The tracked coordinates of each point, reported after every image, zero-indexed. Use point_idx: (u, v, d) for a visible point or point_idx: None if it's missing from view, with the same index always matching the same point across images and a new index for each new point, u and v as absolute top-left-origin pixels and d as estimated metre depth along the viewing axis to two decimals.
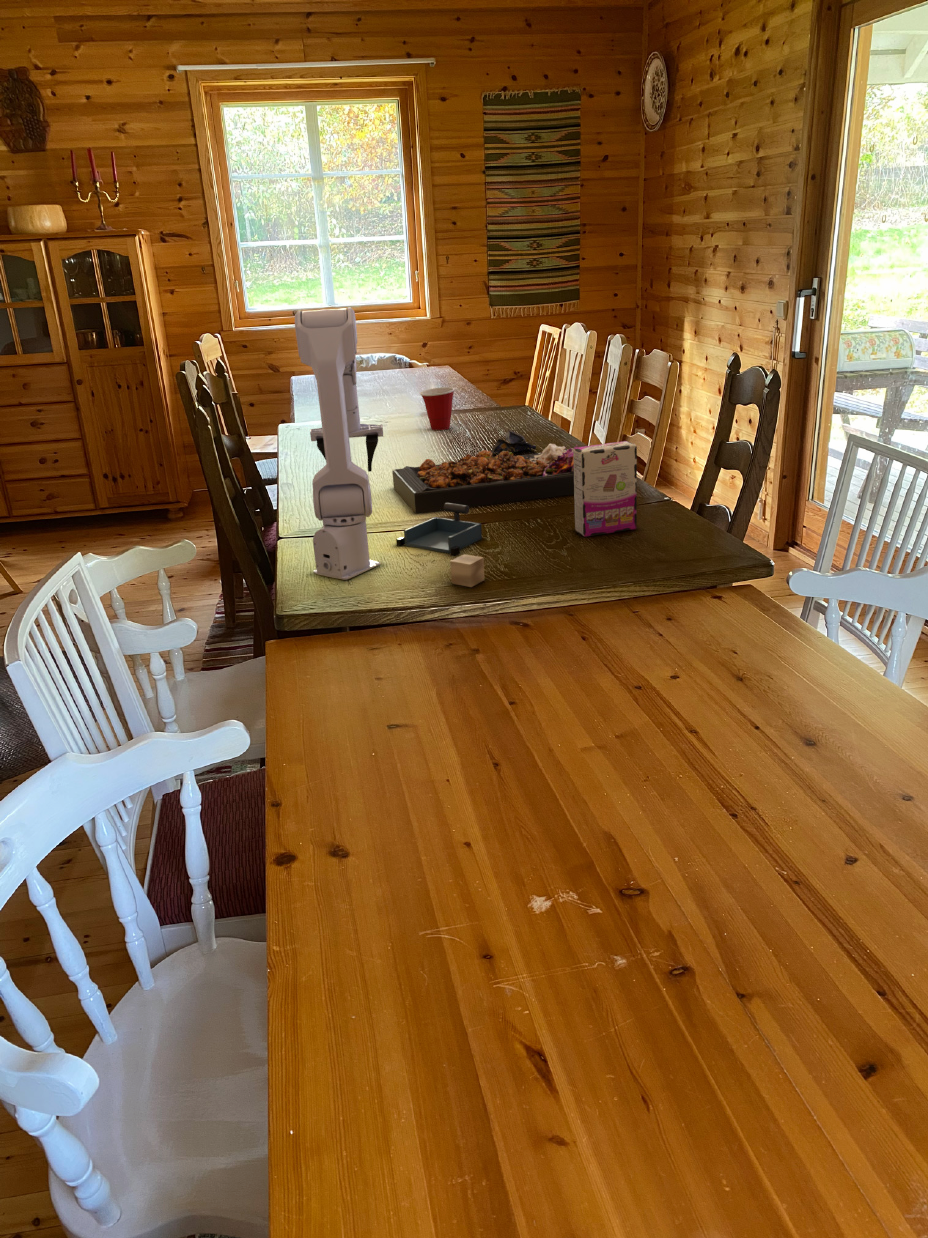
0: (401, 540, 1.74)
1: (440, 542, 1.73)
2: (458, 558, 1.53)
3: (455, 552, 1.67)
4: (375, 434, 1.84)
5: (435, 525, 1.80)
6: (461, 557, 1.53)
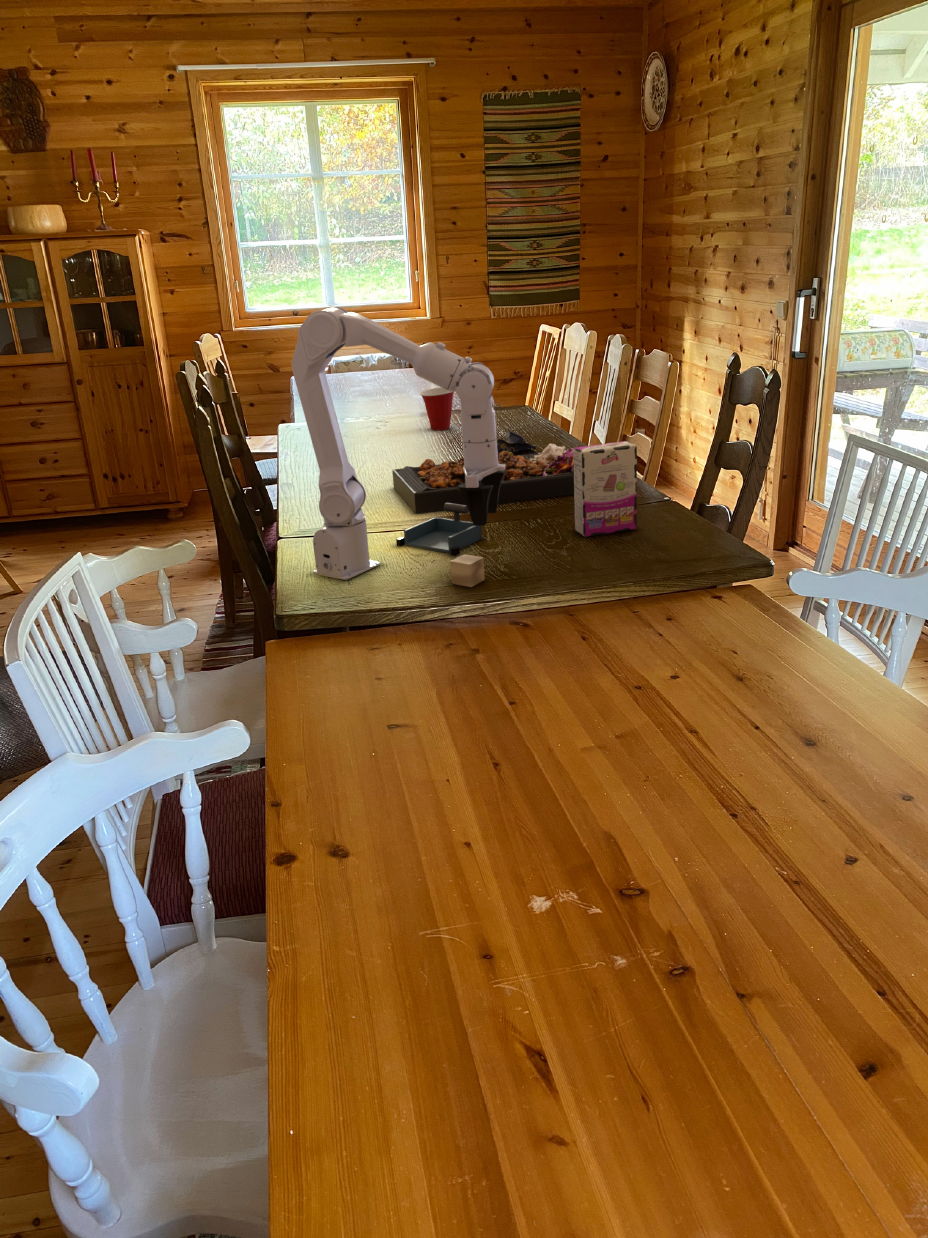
0: (401, 540, 1.74)
1: (440, 542, 1.73)
2: (458, 558, 1.53)
3: (455, 552, 1.67)
4: None
5: (435, 525, 1.80)
6: (461, 557, 1.53)
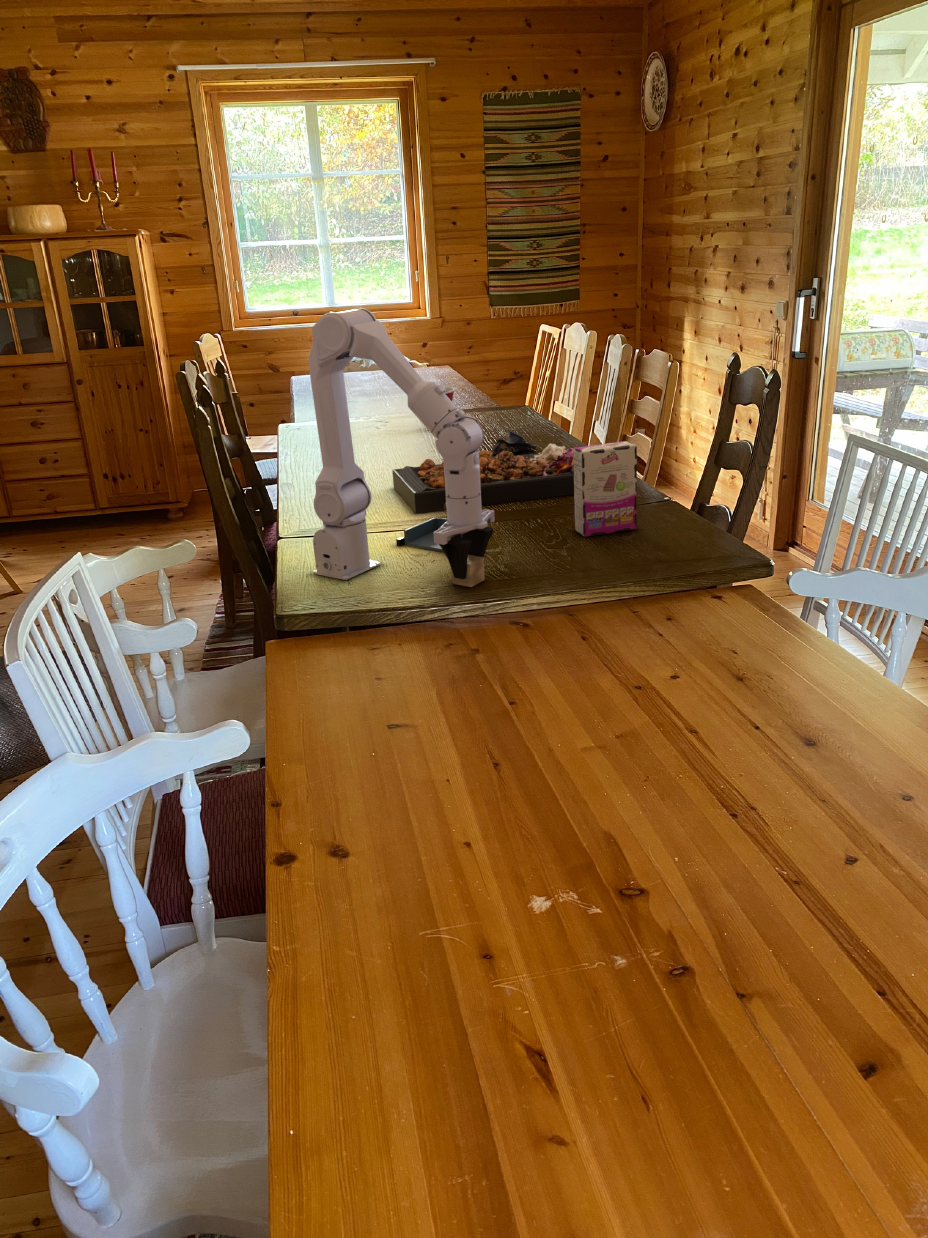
0: (401, 540, 1.74)
1: None
2: None
3: None
4: None
5: (435, 525, 1.80)
6: None
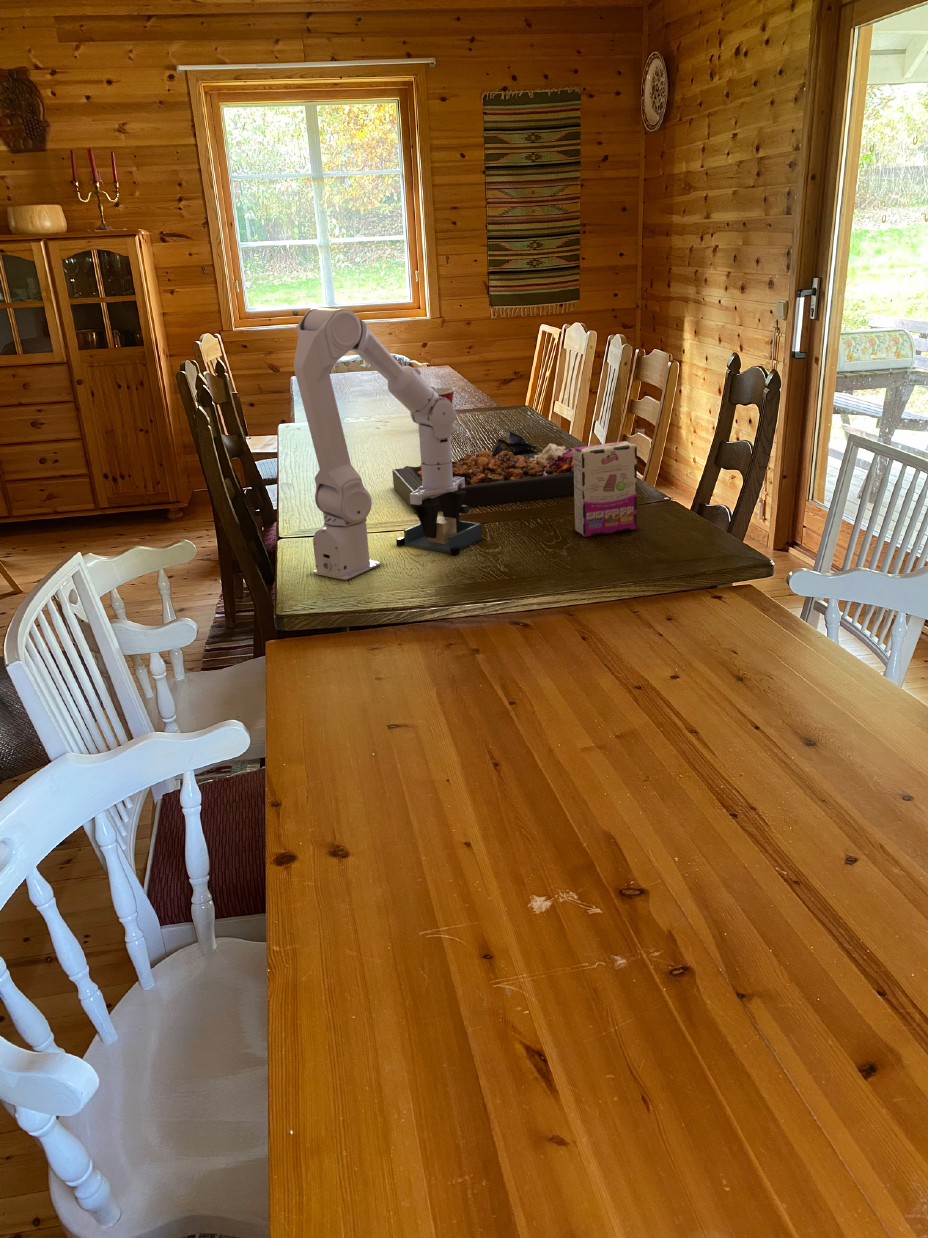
0: (401, 540, 1.74)
1: None
2: None
3: (455, 552, 1.67)
4: None
5: None
6: None
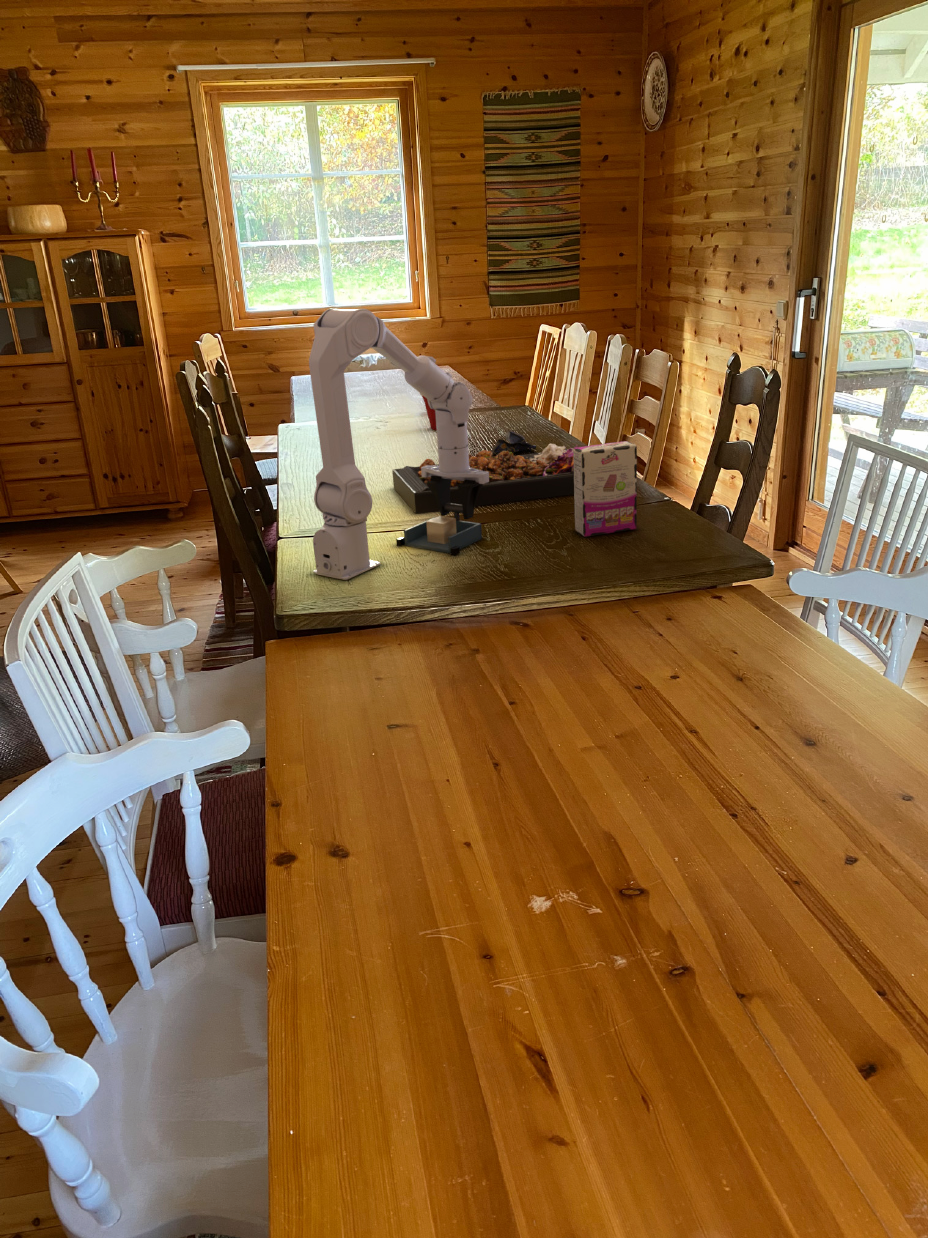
0: (401, 540, 1.74)
1: None
2: (433, 519, 1.73)
3: (455, 552, 1.67)
4: (473, 480, 1.71)
5: None
6: (436, 518, 1.74)
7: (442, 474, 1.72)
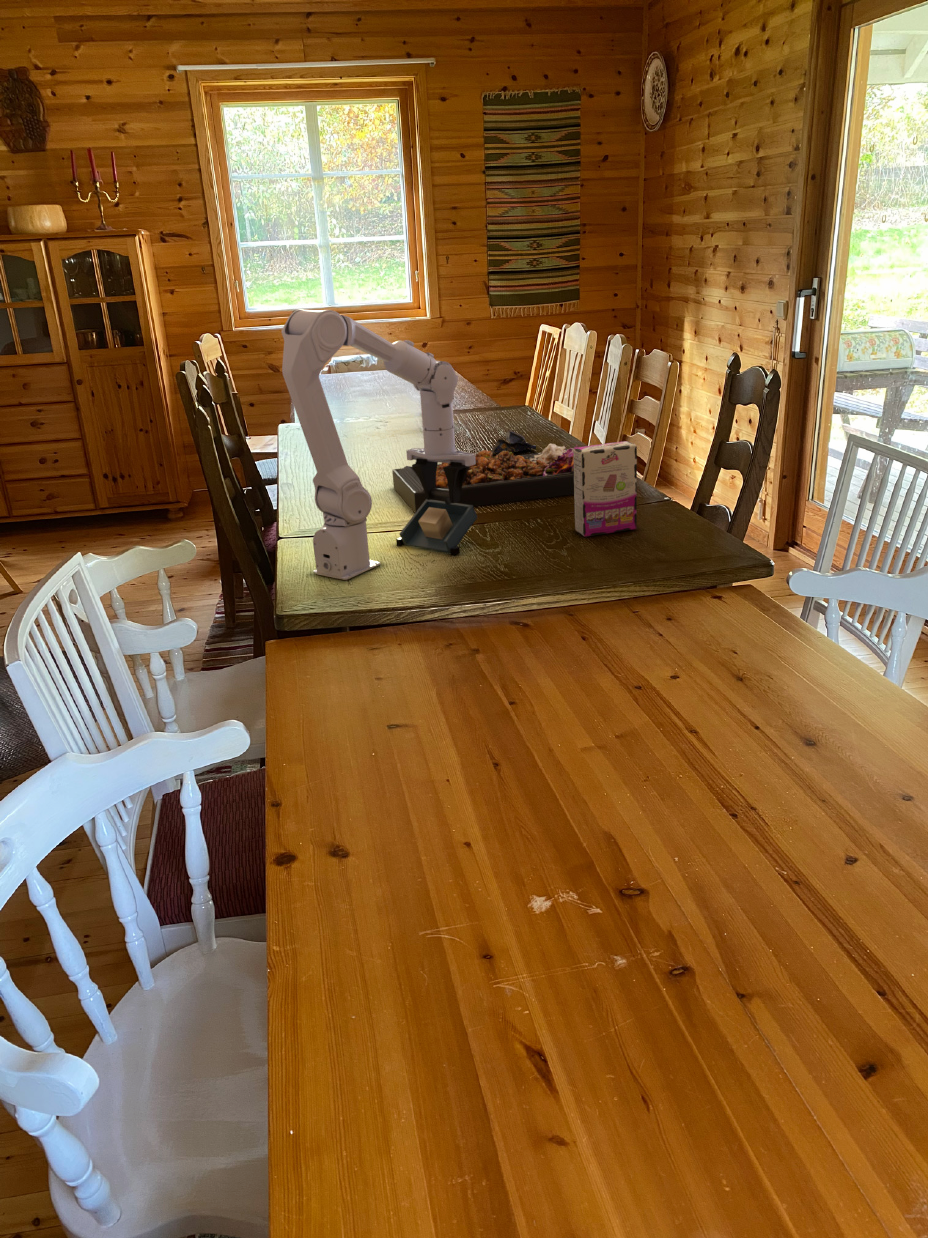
0: (401, 540, 1.74)
1: None
2: (424, 515, 1.71)
3: (455, 552, 1.67)
4: (459, 462, 1.66)
5: None
6: (427, 513, 1.71)
7: (427, 456, 1.67)
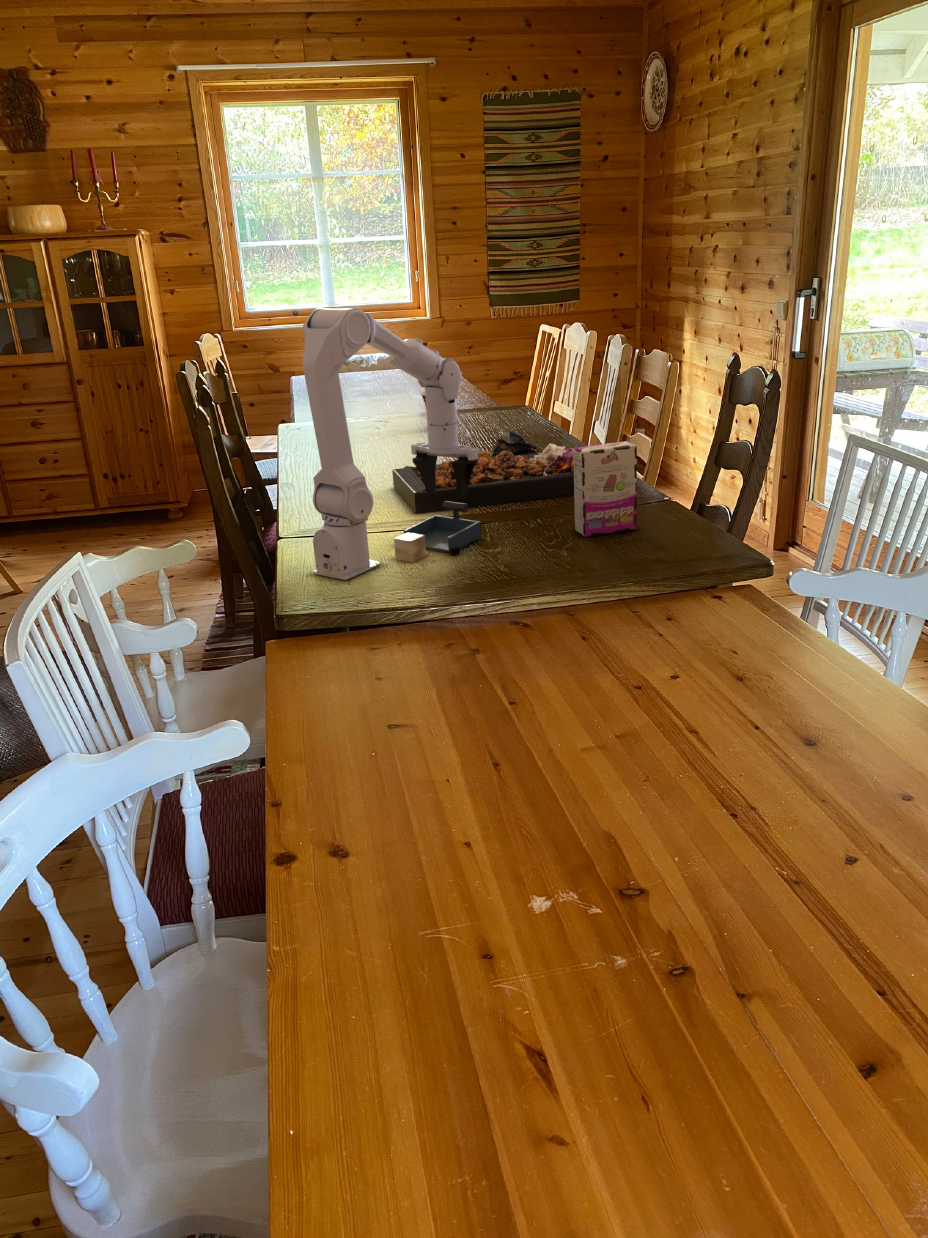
0: None
1: (440, 541, 1.73)
2: None
3: (455, 552, 1.67)
4: (466, 457, 1.71)
5: (435, 523, 1.80)
6: None
7: (431, 451, 1.72)
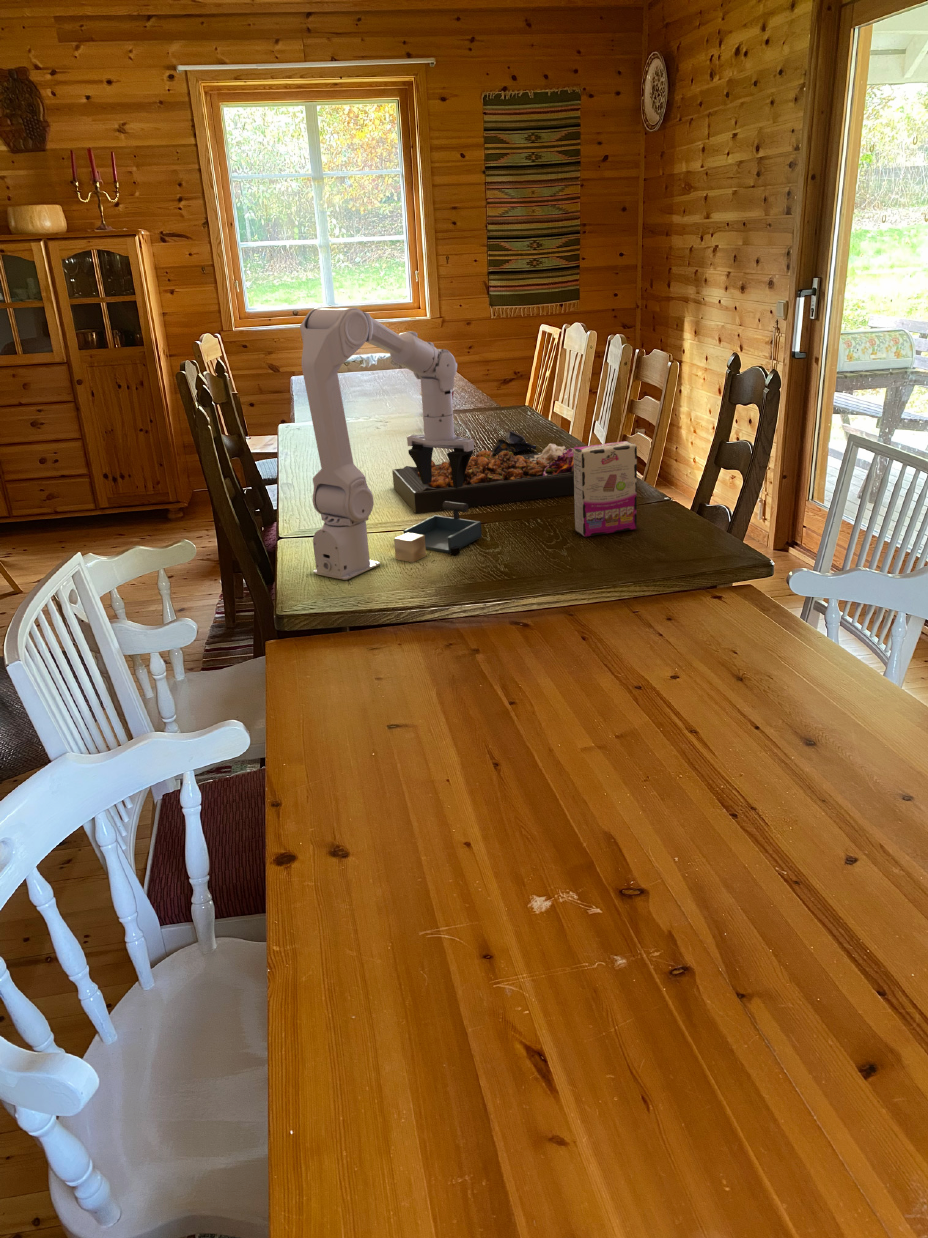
0: None
1: (440, 541, 1.73)
2: None
3: (455, 552, 1.67)
4: (462, 448, 1.72)
5: (435, 523, 1.80)
6: None
7: (427, 442, 1.73)
